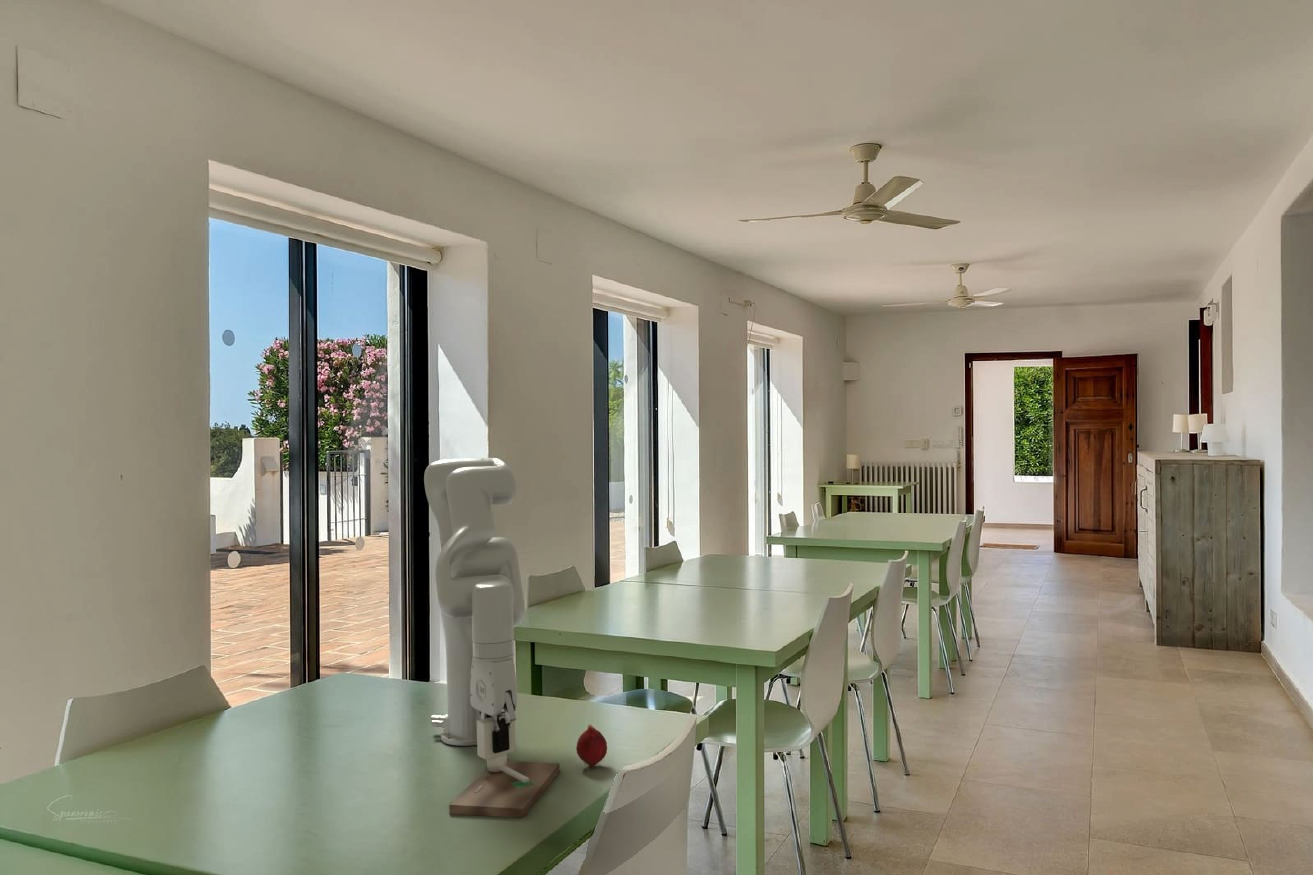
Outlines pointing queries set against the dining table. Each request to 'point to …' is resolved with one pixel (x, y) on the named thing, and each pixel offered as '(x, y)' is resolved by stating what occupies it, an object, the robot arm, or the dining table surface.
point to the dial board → (505, 790)
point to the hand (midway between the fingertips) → (496, 747)
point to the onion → (591, 746)
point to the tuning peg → (485, 748)
